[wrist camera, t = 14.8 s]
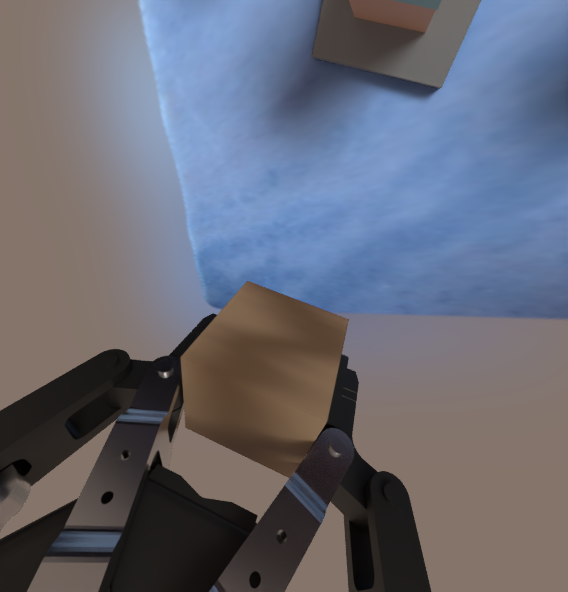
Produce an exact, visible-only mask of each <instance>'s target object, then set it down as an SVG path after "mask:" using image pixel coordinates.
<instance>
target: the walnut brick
mask: <svg viewBox="0 0 568 592" xmlns="http://www.w3.org/2000/svg"><path fill="white" fill-rule="evenodd" d="M348 321H349V319H346V318H343V317H341V316H338V315H336V314H333V313H331V312H328V311H325V310H323V309H320V308H317V307H315V306H312V305H309V304H307V303H304V302H302V301H299V300H296V299H294V298H291V297H288V296H286V295H283V294H280V293H278V292H275V291H273V290H270V289H267V288H265V287H262V286H259V285H257V284H254V283H252V282H249V281H247V282H246V283H245V284H244V285H243V286H242V288H241V289H240V290H239V291H238V292H237V293H236V294H235V296H234V297H233V298H232V299H231V300H230V301H229V302H228V304H227V305H226V306H225V307H224V308H223V309H222V310H221V312H220V313H219V314H218V315H217V316H216V317H215V318H214V320H213V321H212V322H211V323H210V324H209V325H208V326H207V327H206V329H205V330H204V331H203V332H202V333H201V334H200V335H199V337H198V338H197V339H196V340H195V341H194V342H193V343H192V345H191V346H190V347H189V348H188V349H187V350H186V351H185V353H184V354H183V355H182V356H181V370H182V384H183V398H184V412H185V425H186V428H187V429H190V430H192V431H194V432H196V433H198V434H200V435H202V436H204V437H206V438H208V439H210V440H212V441H214V442H216V443H219V444H220V445H223V446H225V447H227V448H229V449H231V450H233V451H235V452H237V453H239V454H241V455H243V456H245V457H247V458H249V459H251V460H253V461H255V462H258V463H260V464H262V465H264V466H266V467H268V468H270V469H272V470H274V471H276V472H278V473H280V474H282V475H284V476H286V477H288V478H290V477H291V476H292V475H293V473H294V472H295V470H296V469H297V467H298V466H299V465H300V463H301V462H302V460H303V459H304V457H305V456H306V454H307V453H308V451H309V449H310V448H311V446H312V445H313V443H314V442H315V440H316V439H317V437H318V435H319V434H320V432H321V431H322V429H323V428H324V426H325V424H326V423H327V420H328V415H329V410H330V406H331V401H332V396H333V392H334V387H335V382H336V377H337V373H338V368H339V363H340V359H341V354H342V349H343V344H344V340H345V335H346V331H347V326H348Z"/></svg>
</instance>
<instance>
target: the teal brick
mask: <svg viewBox="0 0 568 592" xmlns="http://www.w3.org/2000/svg"><path fill="white" fill-rule="evenodd" d="M393 1H398V2H402V3H407V4H412V5H416V6H421V7H425V8H430V9H435V10H438V8H439V6H440V4H441V1H442V0H393Z"/></svg>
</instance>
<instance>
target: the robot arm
mask: <svg viewBox="0 0 568 592" xmlns="http://www.w3.org/2000/svg"><path fill="white" fill-rule="evenodd" d="M216 316H217V315H216V314H211V315H209V316H207V317H205V318H204V319H202V321H201V322H200V323H199V324H198V325H197V327H195V328H194V329H193V330H192V332H190V333H189V335H188V336H187V337H186V338H185V339H184V340H183V341H182V342H181V343H180V344H179V345H178V347H176V348H175V350H174V351H173V352H172V353H171V354H170V355H168V356H162V357H160V358H157V359H155V360H154V361H141V360H132V359H130V357H129V355H128V354H127V352H125V351H123V350H120V349H111V350H108V351H104V352H102V353H100V354H98V355H97V356H95V357H93V358H91V359H90V360H88V361H86V362H84V363H83V364H81V365H79V366H77V367H76V368H74V369H72V370H70V371H69V372H67V373H65V374H64V375H62V376H60V377H58V378H56V379H55V380H53V381H51V382H50V383H48V384H46V385H44V386H43V387H41V388H39V389H38V390H36V391H34V392H32V393H31V394H29V395H27V396H25V397H23V398H22V399H20V400H18V401H16V402H15V403H13V404H11V405H10V406H8V407H6V408H4V409H3V410H1V411H0V531H1V529H2V528H3V526H4V525H5V524H6V523H7V521H8V520H9V519H10V518H11V517H12V516H14V515H16V514H17V513H18V512H19V511H20V510H21V508H22V507H23V504H24V503H25V502H26V500H27V498H28V496H29V493H30V487H31V486H32V485H33V484H34V483H36V482H37V481H39V480H40V479H41V478H42V477H44V476H45V475H46V474H47V473H49V472H50V471H51V470H53V469H54V468H55V467H56V466H58V465H59V464H60V463H61V462H63V461H64V460H65V459H66V458H68V457H69V456H70V455H72V454H73V453H74V452H75V451H77V450H78V449H79V448H81V447H82V446H83V445H84V444H86V443H87V442H88V441H89V440H91V439H92V438H93V437H95V436H96V435H97V434H98V433H100V432H101V431H102V430H104V429H105V428H106V427H107V426H108V425H110V424H111V423H112V422H114V421H115V420H116V419H117V420H116V422H115V424H114V426H113V428H112V430H111V432H110V434H109V436H108V439H107V441H106V442H105V445H104V447H103V449H102V451H101V453H100V455H99V457H98V459H97V461H96V463H95V465H94V467H93V469H92V471H91V473H90V476H89V477H88V479H87V481H86V484H85V486H84V488H83V490H82V492H81V494H80V496H79V498H77V499H75V500H74V501H72V502H70V503H68V504H66V505H64V506H62V507H60V508H59V509H57V510H55V511H53V512H51V513H49V514H47V515H45V516H43V517H42V518H40V519H38V520H36V521H34V522H32V523H30V524H28V525H26V526H24V527H22V528H21V529H19V530H17V531H15V532H13V533H11V534H9V535H7V536H6V537H4V538H2V539H0V592H285V590H286V588H287V586H288V584H289V583H290V581H291V579H292V577H293V575H294V574H295V572H296V570H297V568H298V566H299V564H300V562H301V560H302V559H303V557H304V555H305V553H306V551H307V549H308V547H309V546H310V544H311V542H312V540H313V538H314V536H315V534H316V532H317V531H318V529H319V527H320V525H321V523H322V521H323V519H324V516H325V511H326V509H327V507H328V505H329V503H330V501H331V502H332V503H333V504H334V505H335V506H336V507H337V508H338V509H339V510H340V511H341V512H342V513H343V514H344V526H345V541H346V556H347V572H348V585H349V586H348V587H349V592H431V588H430V584H429V580H428V575H427V571H426V567H425V563H424V558H423V554H422V550H421V545H420V541H419V537H418V533H417V529H416V524H415V520H414V516H413V511H412V507H411V503H410V498H409V495H408V492H407V490H406V488H405V486H404V485H403V483H402V482H401V481H400V480H399V479H398V478H397V477H396V476H394V475H393V474H391V473H389V472H386V471H381V472H377V471H376V470H375V469H374V468H372V467H371V466H370V465H369V464H368V463H367V462H366V461H364V460H363V459H362V458H361V456H360V455H359V454H358V452H357V451H356V449H355V447H354V444H353V440H352V431H353V424H354V416H355V408H356V400H357V391H358V384H359V382H358V379H357V375H356V372H355V371H352V370H350V369H347V364H348V357H347V356H345V355H342V354H341V359H340V363H339V368H338V373H337V377H336V382H335V387H334V392H333V396H332V401H331V406H330V410H329V415H328V420H327V423H326V424H325V426H324V428H323V429H322V431H321V432H320V434H319V435H318V437H317V439H316V440H315V442H314V443H313V445H312V446H311V448H310V449H309V451H308V453H307V455H306V456H305V458H304V459H303V460H302V462H301V463H300V465H299V466H298V467H297V469H296V470H295V472H294V473H293V475H292V476H291V477H290V478H289V480H288V481H287V482H286V484H285V485H284V487H283V488H282V490H281V491H280V492H279V494H278V495H277V497H276V498H275V499H274V501H273V502H272V504H271V505H270V506H269V508H268V509H267V511H266V512H265V513H264V515H263V516H262V518H261V519H260V521H259V522H258V523H256V519H257V515H256V514H254V513H252V512H250V511H248V510H245V509H244V508H242V507H240V506H238V505H236V504H234V503H232V502H226V501H220V500H214V499H206V498H202V497H201V496H199V494H198V493H196V491H195V490H194V489H193V488H192V487H191V486H190V485H189V484H188V483H187V482H186V481H185V480H184V479H183V478H182V476H180V475H178V474H176V473H174V472H172V471H170V470H168V468H169V465H170V460H171V454H172V447H173V443H174V440H175V436H176V433H177V429H178V426H179V423H180V419H181V416H182V412H183V409H184V398H183V384H182V370H181V356H182V355H183V354H184V353H185V351H186V350H187V349H188V348H189V347H190V346H191V345H192V343H193V342H194V341H195V340H196V339H197V338H198V337H199V335H200V334H201V333H202V332H203V331H204V330H205V329H206V327H207V326H208V325H209V324H210V323H211V322H212V321H213V320H214V318H215V317H216ZM126 411H127V412H126ZM125 412H126V413H125Z"/></svg>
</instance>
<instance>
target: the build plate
mask: <svg viewBox="0 0 568 592" xmlns="http://www.w3.org/2000/svg"><path fill="white" fill-rule="evenodd" d="M480 2H481V0H442V1H441V4H440V6H439V8H438V10H436V11H435V13H434V15H433V17H432V19H431V22H430V24H429V26H428V28H427V30H426V33H424V32H420V31H415V30H410V29H406V28H401V27H397V26H392V25H387V24H383V23H378V22H374V21H369V20H364V19H360V18H355V17H354V14H353V11H352V8H351V5H350V2H349V0H323V3H322V8H321V13H320V18H319V23H318V28H317V33H316V38H315V43H314V48H313V53H312V57H313V58H315V59H319V60H323V61H327V62H331V63H335V64H339V65H343V66H347V67H351V68H356V69H360V70H364V71H368V72H372V73H376V74H380V75H384V76H388V77H392V78H397V79H401V80H405V81H409V82H413V83H417V84H421V85H425V86H429V87H434V88H438V89H440V88H442V85H443V83H444V81H445V79H446V77H447V74H448V72H449V70H450V68H451V66H452V63H453V61H454V59H455V57H456V55H457V52H458V50H459V48H460V46H461V44H462V41H463V39H464V37H465V35H466V33H467V30H468V28H469V26H470V24H471V22H472V19H473V17H474V15H475V13H476V11H477V9H478V6H479V4H480Z"/></svg>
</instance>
